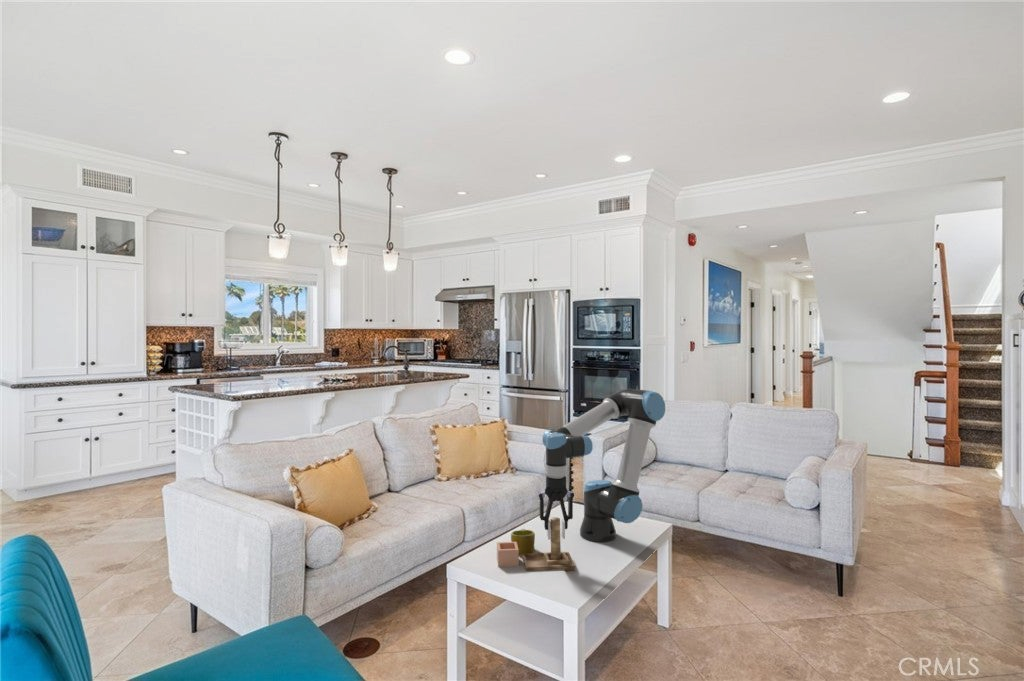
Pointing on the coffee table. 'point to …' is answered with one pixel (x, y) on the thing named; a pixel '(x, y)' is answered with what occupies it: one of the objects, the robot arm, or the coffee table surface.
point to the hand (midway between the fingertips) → (556, 537)
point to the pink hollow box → (507, 554)
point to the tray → (548, 562)
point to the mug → (524, 540)
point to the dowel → (555, 538)
